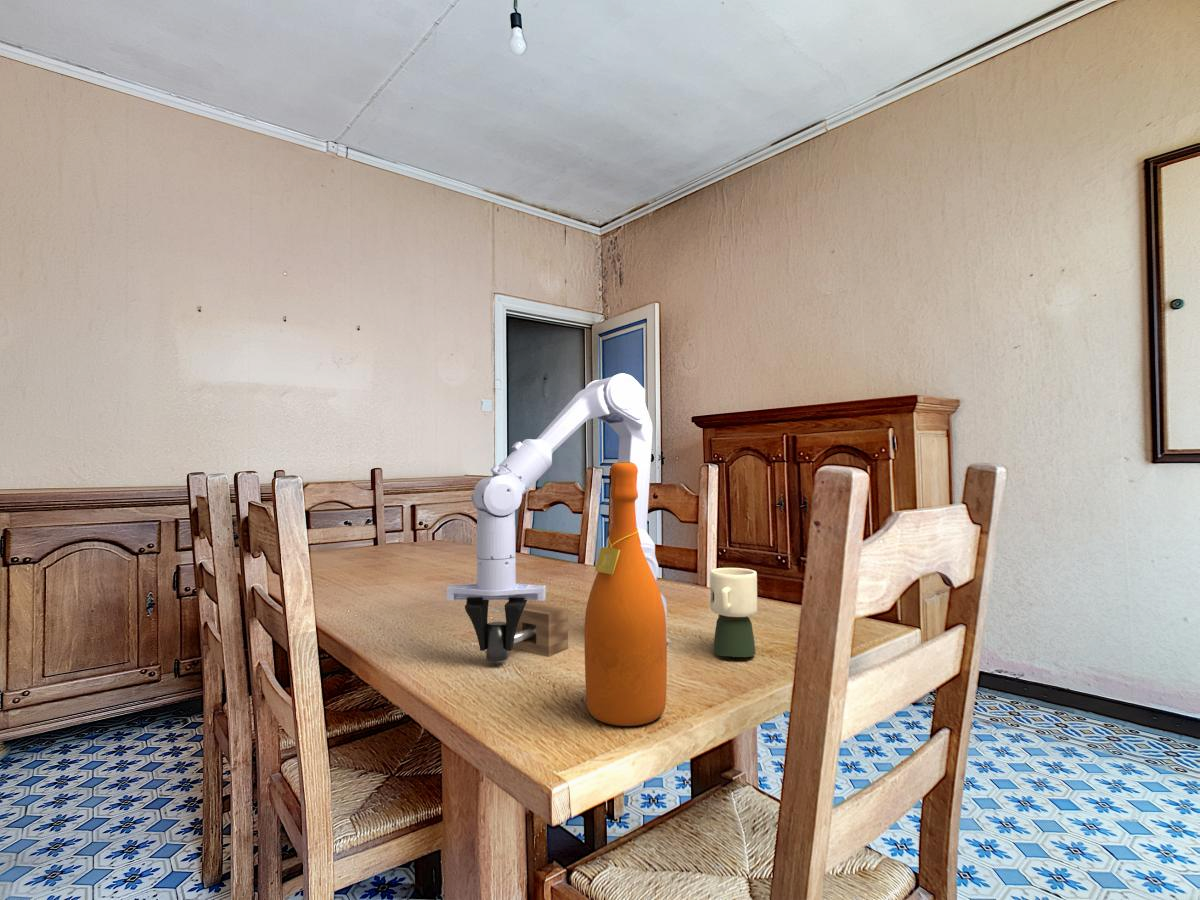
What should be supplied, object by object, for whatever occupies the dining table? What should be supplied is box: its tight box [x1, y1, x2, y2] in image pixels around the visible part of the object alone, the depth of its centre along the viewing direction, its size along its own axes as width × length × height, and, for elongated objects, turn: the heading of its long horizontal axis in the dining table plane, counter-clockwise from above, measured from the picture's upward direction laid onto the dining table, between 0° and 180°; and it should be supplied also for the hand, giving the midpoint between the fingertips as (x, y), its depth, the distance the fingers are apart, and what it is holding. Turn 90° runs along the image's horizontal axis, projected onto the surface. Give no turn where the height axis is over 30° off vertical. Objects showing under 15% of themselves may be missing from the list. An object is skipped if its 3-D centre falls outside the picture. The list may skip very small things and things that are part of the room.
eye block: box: [512, 601, 569, 657], centre depth 98 cm, size 5×8×6 cm, turn 56°
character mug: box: [709, 567, 758, 660], centre depth 93 cm, size 11×7×13 cm, turn 152°
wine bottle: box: [583, 461, 668, 727], centre depth 73 cm, size 10×10×30 cm
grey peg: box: [485, 621, 536, 663], centre depth 94 cm, size 13×3×5 cm, turn 146°
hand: (496, 648), depth 90 cm, fingers closed on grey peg, 3 cm apart
